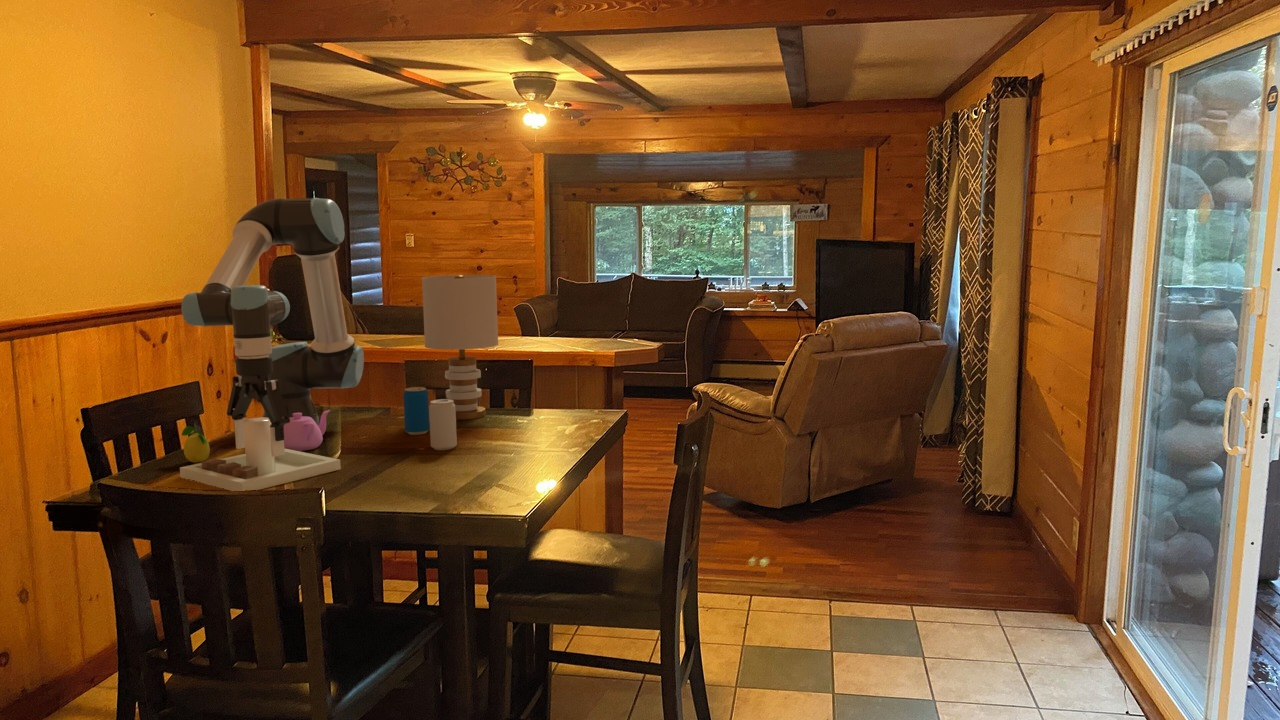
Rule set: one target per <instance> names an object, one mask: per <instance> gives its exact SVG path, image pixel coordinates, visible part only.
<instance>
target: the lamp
mask: <svg viewBox="0 0 1280 720" xmlns="http://www.w3.org/2000/svg"><path fill="white" fill-rule="evenodd" d="M421 282H422V283H421V287H422V288H421V289H422V307H423V308H422V309H423V327H424V329H423V331H424V332H423V333H424V348H425V349H426V348H427V349H430V350H440V351H441V350H443V351H444V350H448V351H453V350H454V351H455V350H456V351H457V350H458V353H459V354H458V355H459V356H457V357H456V356H455V357H450V358H448V362H447V363H448V370H445V371H444V378H445V379H446V380H448V381H449V382H448V383H449V389H446V390H445V399H451V400H453V403H454V404H455V412H456V421H457V420H458V421H459V420H475V419H480V418H483V417H485V416H486V407H484V406H478V403H479V399H478V398H481V397H482V388H479V387H478V379H481V378H482V376H481V375H482V372H481V371H482V370H481V369H478V368H477V357H474V356H466V350H477V349H486V348H492V347H495V346H496V347H497V346H498V345H499V330H498V329H499V328H498V325H499V324H498V305H497V304H498V302H497V301H498V299H497V276H496V275H489V274H488V275H486V274H485V275H484V274H482V275H481V274H472V275H471V274H468V275H467V274H464V275H461V274H459V275H457V274H456V275H455V274H454V275H438V276H437V275H434V276H425V277H424V276H423V277H421Z"/></svg>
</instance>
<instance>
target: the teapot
mask: <svg viewBox="0 0 1280 720" xmlns="http://www.w3.org/2000/svg"><path fill="white" fill-rule="evenodd" d="M330 412H331V409H327V410H325V411H323V412H322V413H321V415H320V420H319V424H318V425H317V424H316V422H315V421H314V420H313V419H312V418H311V417H307V416H302V413H293V414H292V415H293V417H290V423H287V424H285V425H284V448H285V449H290V450H295V451H300V452H305V451H310V450H315V449H317V448H319V447H320V446H321V444H322V443H323V440H324V438H323V435H324V434H325V432H326V429H327V416H328V414H329V413H330ZM283 418H284V417H283Z"/></svg>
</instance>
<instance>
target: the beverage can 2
mask: <svg viewBox="0 0 1280 720" xmlns="http://www.w3.org/2000/svg"><path fill="white" fill-rule="evenodd" d="M429 424H430V430H429V435H430V440H429V441H430V447H431V448H432V449H433V450H436V451H449V450H452V449H454V448H455V447H456V446H457V445H458V443H457V442H458V438H457V420H456V412H455V404H454V403H453V400H451V399H448V398H441V399H433V400H430V404H429Z"/></svg>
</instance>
